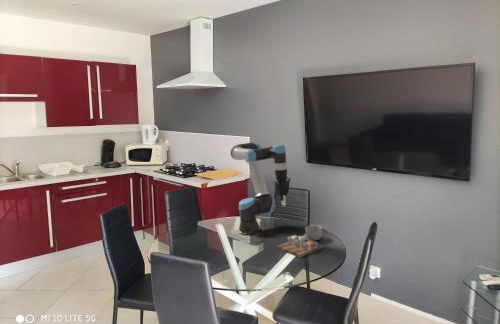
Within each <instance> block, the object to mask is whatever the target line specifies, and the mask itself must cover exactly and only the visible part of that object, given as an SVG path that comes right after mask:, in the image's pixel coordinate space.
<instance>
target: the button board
mask: <svg viewBox="0 0 500 324" xmlns="http://www.w3.org/2000/svg"><path fill="white" fill-rule="evenodd" d="M291 236H297V238H295V239H293V238H291ZM299 236H300V235H297V234H293V235H290V236H288V237H287V242H284V243H282V244H280V245H277V249H278V250H280V251H283V252H285V253H287V254H289V255H292V256H295V257H296V258H297V257H298V258H303V257H305V255H306V256H308V255H310V254H312V253H314V252H317V251H319V250H322V249H324V245H323V244H320V243H318V242H317V241H312V240H309V239H308V238H307V237H305V241H302V242H301V241H299V239H298V237H299ZM308 241H312V242H313V244H310V245H309V244H307V242H308ZM307 254H308V255H307Z"/></svg>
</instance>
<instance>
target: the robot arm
mask: <svg viewBox="0 0 500 324" xmlns="http://www.w3.org/2000/svg"><path fill="white" fill-rule="evenodd" d="M230 156H231V158H232V159H234V160H236V161H238V160H239V161H243V160H245V162H246V164H248V166H249V170H250V174H251V178H252V183H253V188H254V191H255V195H254V198H253V197H247V198H244V199H241V200H240V201H239V202H238V211H239V220H240V221H239V226H238V231H239V230H240V231H241V232H242V233H246V234H250V235H254V234H253V233H255V234H258V233H259V232H260V231H261V227H260V224H259V223H258V220H257V216H261V215H267V214H270V213H273V212H274V211H275V210H276V199H275V197H274V196H272V195H271V193H270V192H269V191H268V188H267V184H266V180H265V177H264V172H263V169H262V164H261V161H266V160H270V159H271V160H272V159H273V161H274V162H273V163H274V174H275V176H276V177H275V180H274V181H272V184H273V185H274V188H275V192H276V195H277V196H279V199H280V203H281V206H284V207H285V206H287V196H288V194H289V191H290V181H291V178H290V177H288V176H287V175H288V169H287V167H288V166H287V155H286V146H285V144H275V145H273V146H267V147H264V148H263V147H262V145H261V144H260V143H258V142H253V141H252V142H246V143H239V144H236V145H234V146H233V147H232V148H231V150H230Z"/></svg>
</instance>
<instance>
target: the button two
mask: <svg viewBox="0 0 500 324" xmlns="http://www.w3.org/2000/svg"><path fill="white" fill-rule="evenodd" d="M298 236H299V237H298V239H299V241H301V242H302V241H305V238H306V236H304V235H298Z"/></svg>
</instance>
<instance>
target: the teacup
mask: <svg viewBox="0 0 500 324" xmlns="http://www.w3.org/2000/svg"><path fill="white" fill-rule="evenodd" d="M304 230H305V237H306V239H309V240H312V241H315V242H317V241H319V240H321V238H322V237H323V227H322V226H321V225H319V224H310V225H308V226H306V227H305V228H304Z"/></svg>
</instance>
